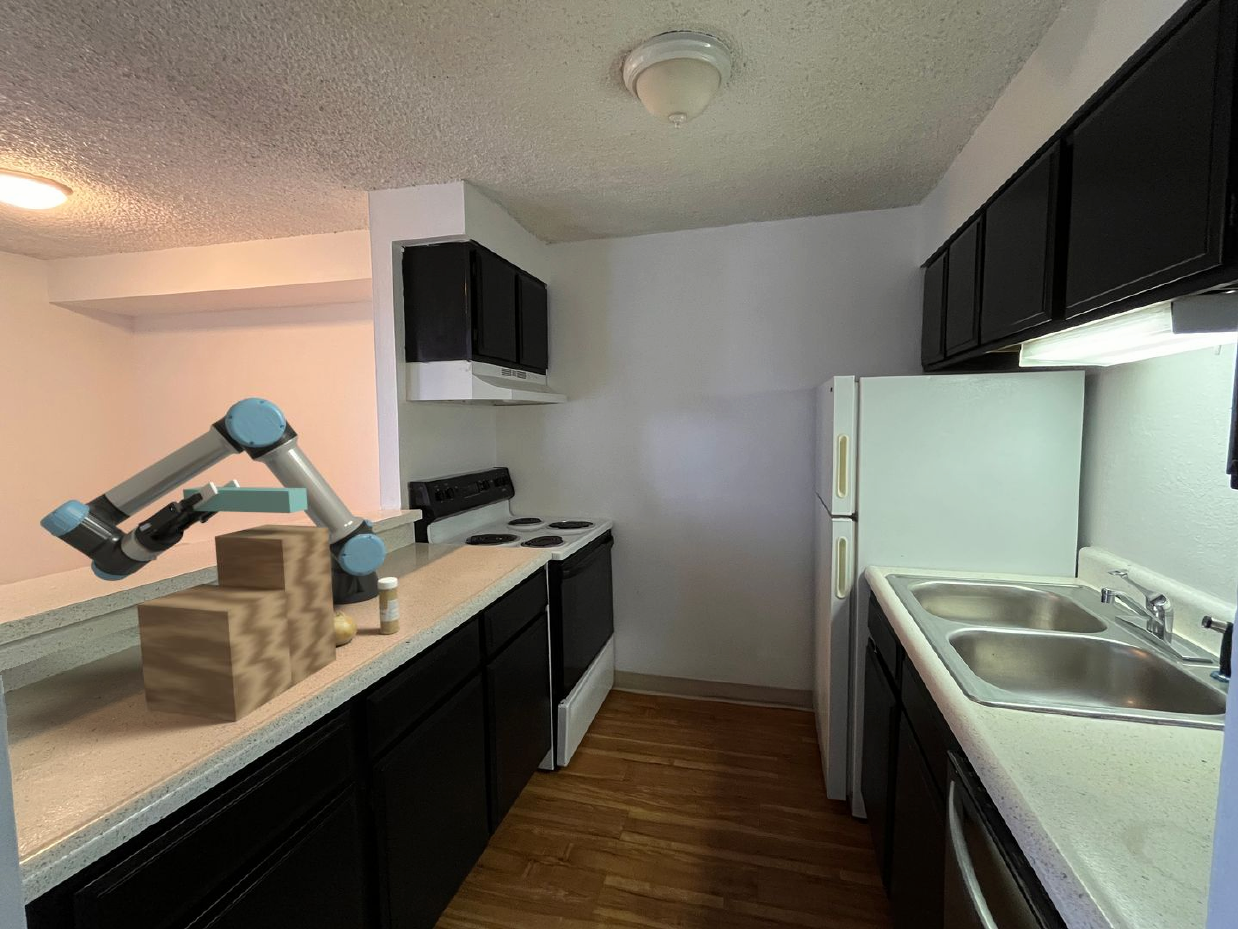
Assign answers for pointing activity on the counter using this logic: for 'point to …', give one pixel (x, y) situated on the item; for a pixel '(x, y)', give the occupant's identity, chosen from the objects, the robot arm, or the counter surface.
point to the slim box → (254, 499)
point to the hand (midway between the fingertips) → (225, 486)
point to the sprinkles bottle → (388, 605)
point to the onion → (344, 628)
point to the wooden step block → (242, 625)
